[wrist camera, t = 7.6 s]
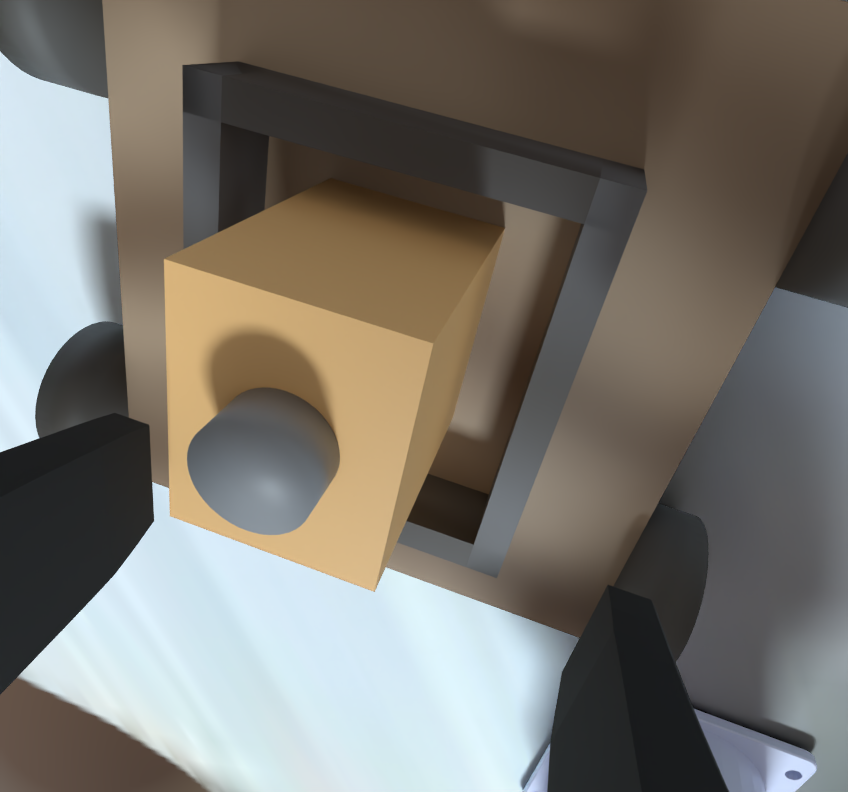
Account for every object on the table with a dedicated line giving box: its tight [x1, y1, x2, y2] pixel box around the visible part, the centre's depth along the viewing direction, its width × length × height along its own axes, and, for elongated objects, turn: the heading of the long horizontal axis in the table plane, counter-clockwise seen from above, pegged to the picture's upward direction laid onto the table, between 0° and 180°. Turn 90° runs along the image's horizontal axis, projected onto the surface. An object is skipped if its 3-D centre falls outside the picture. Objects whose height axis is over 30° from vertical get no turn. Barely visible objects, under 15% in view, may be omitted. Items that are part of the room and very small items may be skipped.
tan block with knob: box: [164, 178, 505, 592], centre depth 12 cm, size 5×4×7 cm
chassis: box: [0, 0, 848, 662], centre depth 15 cm, size 16×18×5 cm
